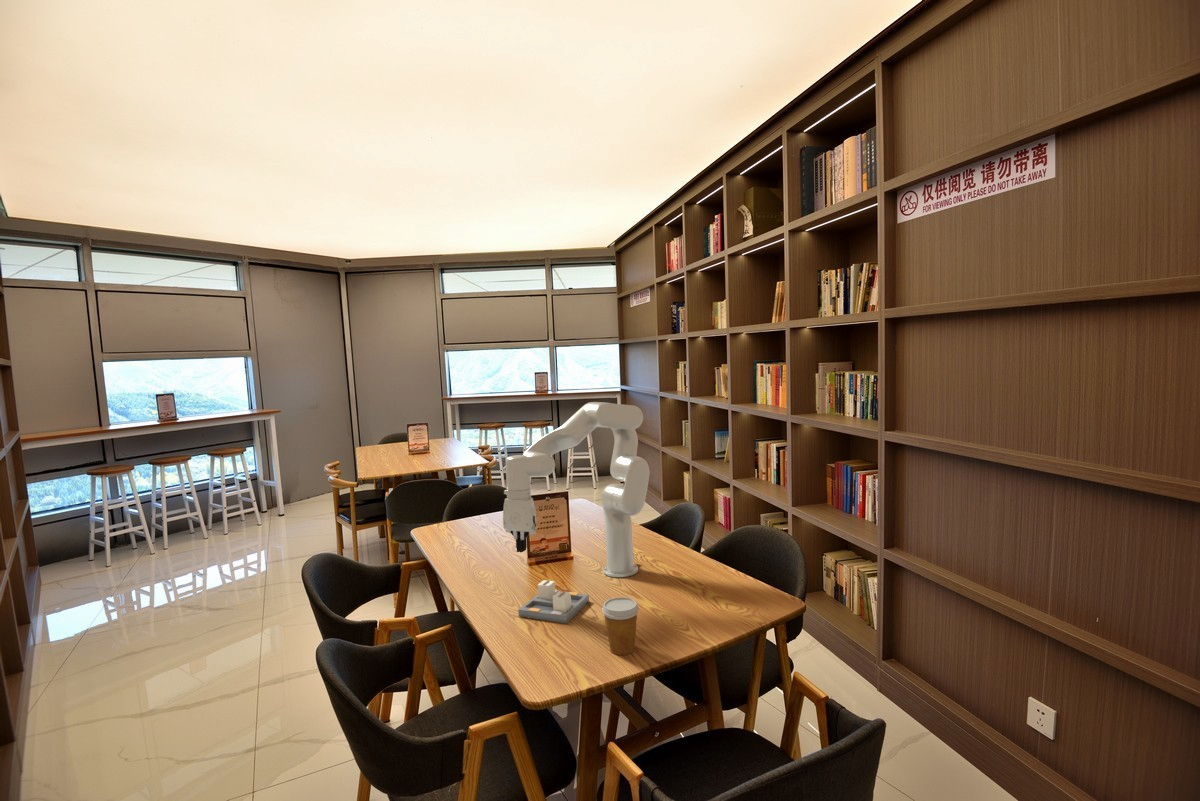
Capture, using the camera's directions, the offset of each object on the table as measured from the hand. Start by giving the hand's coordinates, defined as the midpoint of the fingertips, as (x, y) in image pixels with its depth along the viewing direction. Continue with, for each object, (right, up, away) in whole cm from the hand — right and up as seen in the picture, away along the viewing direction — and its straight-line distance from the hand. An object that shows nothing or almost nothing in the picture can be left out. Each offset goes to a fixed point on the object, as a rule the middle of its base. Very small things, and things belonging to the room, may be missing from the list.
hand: (521, 550), depth 176 cm
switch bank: (+11, -16, -7) cm, 21 cm away
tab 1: (+14, -15, -12) cm, 24 cm away
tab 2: (+8, -15, -2) cm, 17 cm away
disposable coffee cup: (+31, -16, -34) cm, 49 cm away
